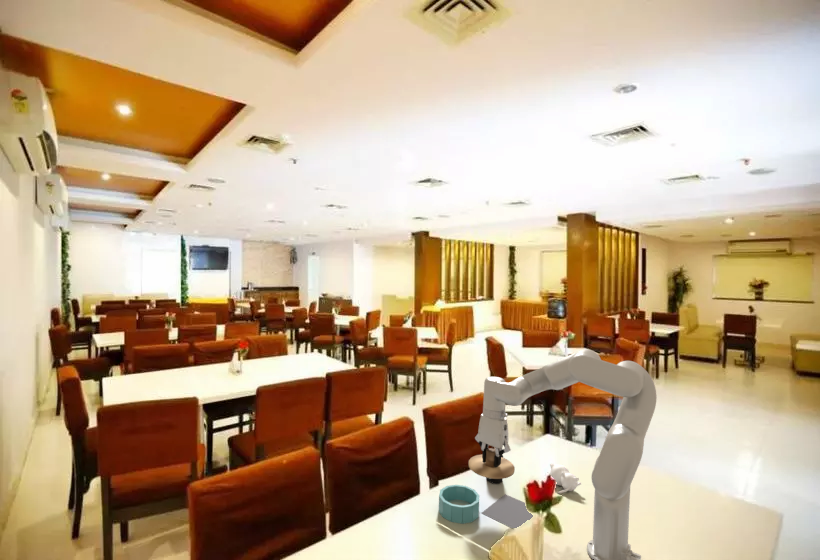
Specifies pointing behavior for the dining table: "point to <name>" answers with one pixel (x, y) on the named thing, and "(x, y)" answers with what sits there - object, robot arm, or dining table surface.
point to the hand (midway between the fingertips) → (491, 463)
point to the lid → (491, 466)
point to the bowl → (459, 504)
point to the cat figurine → (564, 478)
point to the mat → (508, 511)
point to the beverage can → (495, 481)
